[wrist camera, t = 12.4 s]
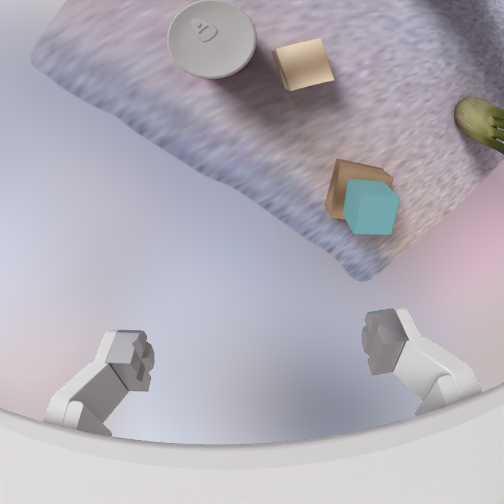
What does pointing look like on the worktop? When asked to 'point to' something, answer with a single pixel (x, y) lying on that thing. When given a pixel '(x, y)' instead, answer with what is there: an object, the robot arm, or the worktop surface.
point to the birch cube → (303, 64)
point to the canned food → (211, 39)
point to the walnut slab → (340, 179)
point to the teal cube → (370, 207)
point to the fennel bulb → (481, 121)
